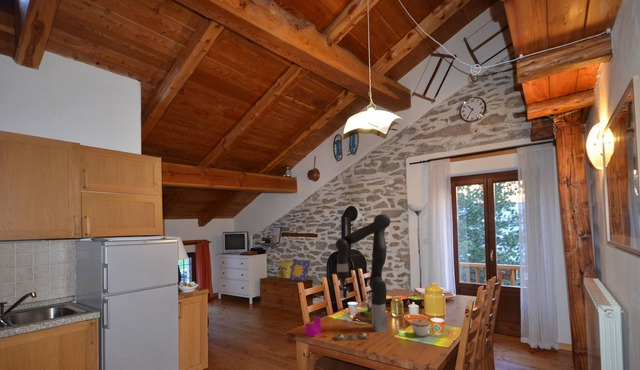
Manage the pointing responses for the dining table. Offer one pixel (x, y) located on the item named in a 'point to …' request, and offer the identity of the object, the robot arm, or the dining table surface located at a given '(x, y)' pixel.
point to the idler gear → (342, 294)
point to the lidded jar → (420, 327)
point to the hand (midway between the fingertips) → (343, 295)
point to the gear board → (351, 337)
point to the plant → (365, 315)
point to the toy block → (313, 327)
